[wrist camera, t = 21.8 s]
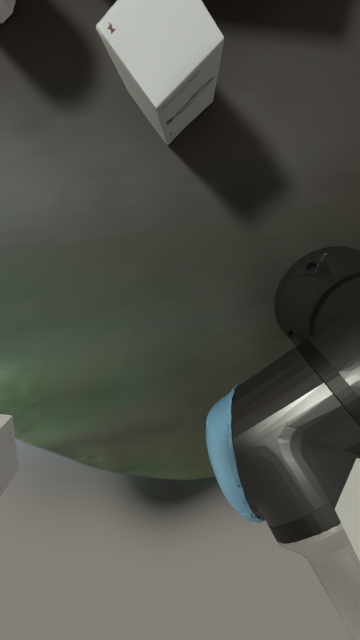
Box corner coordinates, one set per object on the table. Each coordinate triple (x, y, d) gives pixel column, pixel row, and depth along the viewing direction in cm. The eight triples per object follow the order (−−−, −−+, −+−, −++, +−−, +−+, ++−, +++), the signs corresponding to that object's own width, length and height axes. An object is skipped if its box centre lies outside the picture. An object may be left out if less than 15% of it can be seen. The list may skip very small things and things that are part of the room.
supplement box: (167, 148, 35) (153, 112, 23) (127, 92, 33) (90, 23, 21) (215, 102, 33) (227, 38, 21) (176, 41, 31) (165, -67, 19)
